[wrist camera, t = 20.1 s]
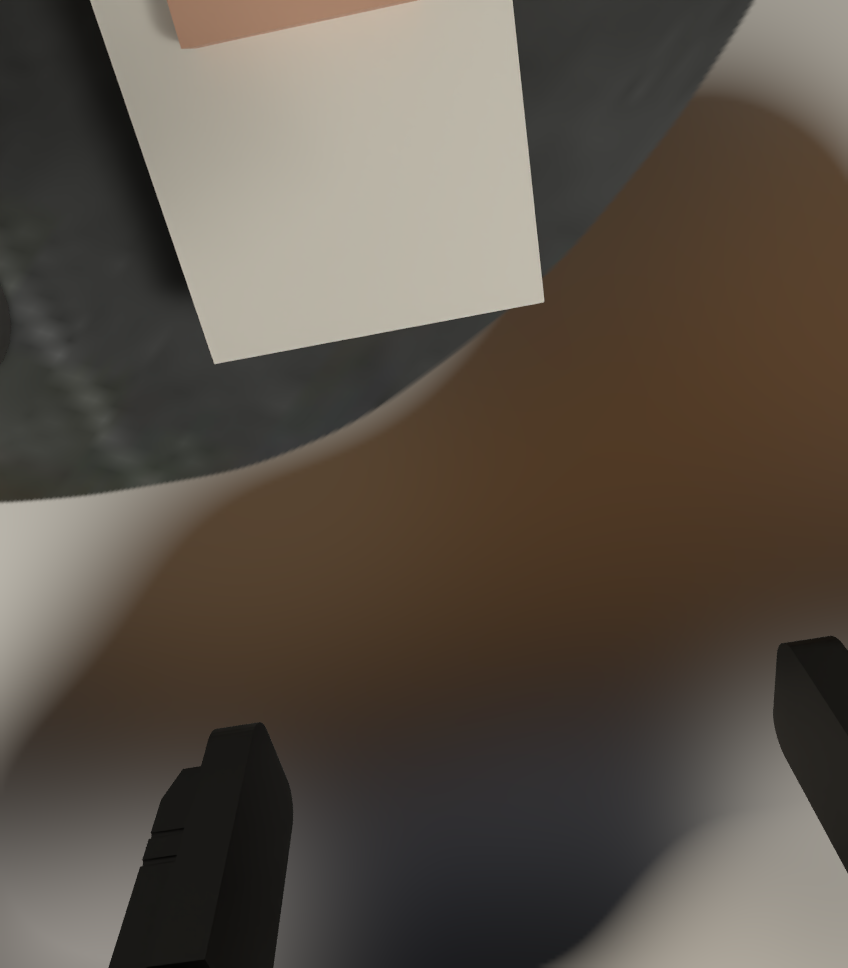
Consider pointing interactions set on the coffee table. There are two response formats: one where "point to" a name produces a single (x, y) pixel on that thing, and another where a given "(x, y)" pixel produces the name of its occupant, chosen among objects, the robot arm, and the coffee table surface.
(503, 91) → the lid
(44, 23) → the coffee table surface
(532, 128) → the coffee table surface
